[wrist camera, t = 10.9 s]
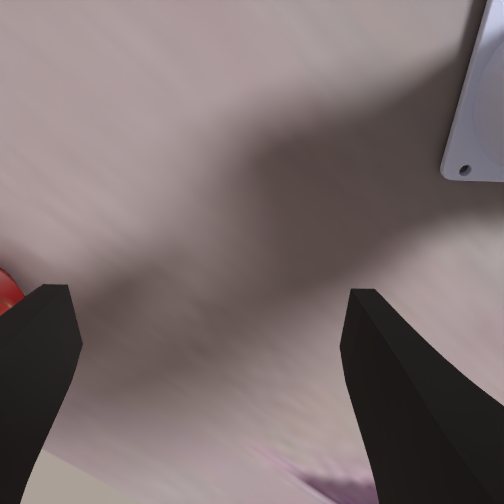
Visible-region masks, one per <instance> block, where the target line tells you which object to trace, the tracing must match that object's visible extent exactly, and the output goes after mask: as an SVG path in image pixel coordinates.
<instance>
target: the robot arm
mask: <svg viewBox="0 0 504 504" xmlns="http://www.w3.org/2000/svg"><path fill="white" fill-rule="evenodd" d="M464 165H468V168H467V170H466V171H464V172H462V173H459V170H460V169H461V167H463V166H464ZM440 172H441V174H442V176H443V177H444V178H446V179H448V180H459V181H489V182H504V0H487V3H486V7H485V10H484V14H483V17H482V21H481V25H480V28H479V32H478V35H477V39H476V42H475V46H474V49H473V53H472V56H471V60H470V63H469V67H468V70H467V74H466V78H465V81H464V85H463V88H462V92H461V95H460V99H459V102H458V106H457V109H456V113H455V116H454V120H453V124H452V127H451V131H450V134H449V138H448V141H447V145H446V148H445V152H444V155H443V159H442V162H441V166H440ZM82 345H83V343H82V339H81V335H80V331H79V327H78V324H77V320H76V316H75V312H74V308H73V304H72V300H71V296H70V292H69V288H68V285H53V284H43V285H42V286H40V287H39V288H37V289H36V290H34V291H33V292H31V293H30V294H29V295H27V296H26V297H25V298H23V299H22V300H21V301H19V302H18V303H17V304H15V305H14V306H13V307H11V308H10V309H9V310H7V311H6V312H5V313H3V314H2V315H1V316H0V504H20V502H21V499H22V496H23V493H24V490H25V487H26V484H27V481H28V479H29V477H30V474H31V472H32V469H33V467H34V464H35V462H36V460H37V457H38V455H39V453H40V451H41V449H42V447H43V444H44V442H45V440H46V438H47V435H48V433H49V431H50V429H51V427H52V424H53V422H54V420H55V418H56V416H57V413H58V411H59V409H60V407H61V404H62V402H63V400H64V398H65V395H66V393H67V391H68V388H69V386H70V384H71V381H72V379H73V376H74V372H75V369H76V366H77V363H78V359H79V355H80V352H81V348H82ZM340 352H341V358H342V365H343V370H344V376H345V381H346V385H347V389H348V392H349V395H350V399H351V402H352V406H353V409H354V412H355V416H356V419H357V422H358V425H359V429H360V432H361V435H362V439H363V442H364V445H365V449H366V452H367V455H368V458H369V462H370V465H371V469H372V473H373V477H374V481H375V485H376V490H377V495H378V500H379V504H504V406H503V405H502V404H500V403H499V402H498V401H496V400H495V399H494V398H492V397H491V396H490V395H488V394H487V393H486V392H485V391H483V390H482V389H481V388H479V387H478V386H477V385H476V384H474V383H473V382H472V381H471V380H469V379H468V378H467V377H466V376H465V375H463V374H462V373H461V372H460V371H459V370H458V369H456V368H455V367H454V366H453V365H452V364H451V363H450V362H448V361H447V360H446V359H445V358H444V357H443V356H442V355H441V354H439V353H438V352H437V351H436V350H435V349H434V348H433V347H432V346H431V345H430V344H429V343H428V342H427V341H426V340H425V339H423V338H422V337H421V336H420V335H419V334H418V333H417V332H416V331H415V330H414V329H413V328H412V327H411V326H410V325H409V324H408V323H407V322H406V321H405V320H404V319H403V318H402V317H401V316H400V315H399V313H398V312H397V311H396V310H395V309H394V308H393V307H392V306H391V305H390V304H389V303H388V302H387V301H386V300H385V299H384V298H383V297H382V296H381V295H380V294H379V293H378V292H377V291H376V290H375V289H351V291H350V296H349V301H348V306H347V311H346V316H345V321H344V327H343V332H342V337H341V342H340Z"/></svg>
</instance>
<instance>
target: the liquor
mask: <svg viewBox="0 0 504 504" xmlns="http://www.w3.org/2000/svg"><path fill="white" fill-rule="evenodd" d="M23 298H25V296H24V294H23V293H22V291H21V290H20V288H19V287H18V285H17V284H16V282H15V281H14V280H13V278H12V277H11V276H10V275H9V274H7V273H6V272H5V271H4V270H2V269H1V268H0V316H1V315H2V314H3V313H5V312H6V311H7V310H9V309H10V308H11V307H13V306H14V305H15V304H17V303H18V302H19V301H21V300H22V299H23Z"/></svg>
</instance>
